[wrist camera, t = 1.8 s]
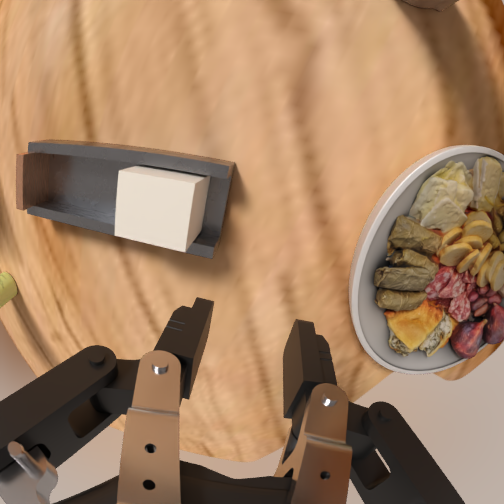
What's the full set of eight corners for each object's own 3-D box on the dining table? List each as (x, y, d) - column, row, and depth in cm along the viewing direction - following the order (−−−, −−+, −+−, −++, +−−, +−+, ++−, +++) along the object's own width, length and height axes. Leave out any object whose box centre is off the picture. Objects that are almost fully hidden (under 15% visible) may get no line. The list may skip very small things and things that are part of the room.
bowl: (289, 281, 33) (292, 321, 26) (448, 91, 22) (488, 85, 15) (420, 376, 38) (435, 410, 31) (536, 246, 28) (565, 266, 20)
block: (211, 174, 27) (195, 183, 22) (201, 230, 30) (185, 252, 24) (146, 163, 27) (118, 170, 22) (141, 217, 30) (114, 235, 24)
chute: (235, 162, 28) (225, 168, 22) (219, 244, 31) (207, 267, 26) (49, 139, 27) (17, 144, 22) (46, 205, 31) (17, 218, 25)
